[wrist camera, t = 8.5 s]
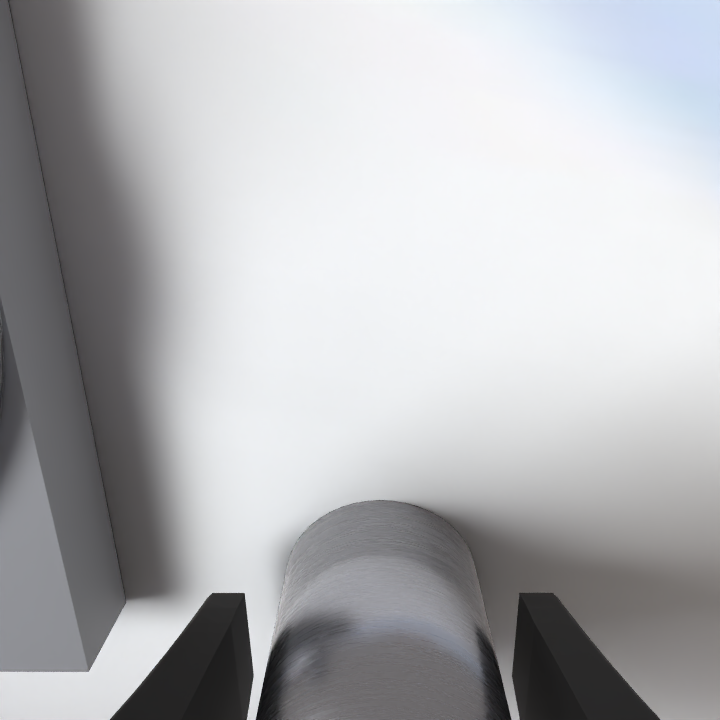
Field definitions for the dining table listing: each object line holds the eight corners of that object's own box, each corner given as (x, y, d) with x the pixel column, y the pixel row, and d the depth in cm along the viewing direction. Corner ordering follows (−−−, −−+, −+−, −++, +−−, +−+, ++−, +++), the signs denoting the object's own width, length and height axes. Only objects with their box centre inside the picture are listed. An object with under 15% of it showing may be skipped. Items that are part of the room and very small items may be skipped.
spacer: (471, 654, 13) (525, 936, 9) (292, 653, 13) (247, 931, 9) (480, 499, 12) (549, 735, 7) (280, 500, 12) (219, 733, 7)
